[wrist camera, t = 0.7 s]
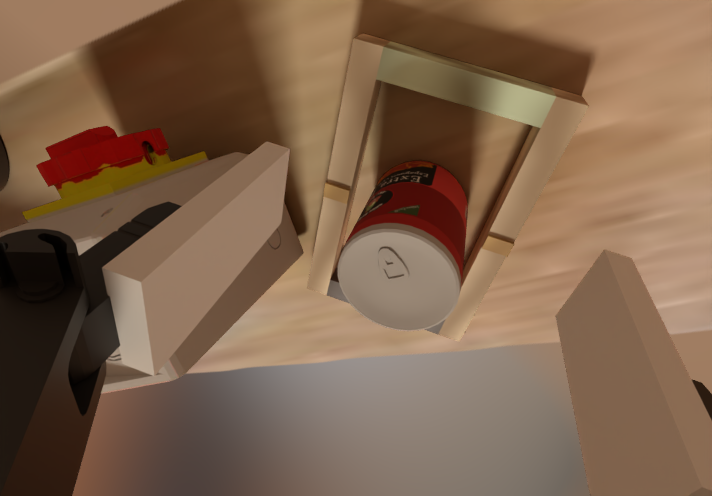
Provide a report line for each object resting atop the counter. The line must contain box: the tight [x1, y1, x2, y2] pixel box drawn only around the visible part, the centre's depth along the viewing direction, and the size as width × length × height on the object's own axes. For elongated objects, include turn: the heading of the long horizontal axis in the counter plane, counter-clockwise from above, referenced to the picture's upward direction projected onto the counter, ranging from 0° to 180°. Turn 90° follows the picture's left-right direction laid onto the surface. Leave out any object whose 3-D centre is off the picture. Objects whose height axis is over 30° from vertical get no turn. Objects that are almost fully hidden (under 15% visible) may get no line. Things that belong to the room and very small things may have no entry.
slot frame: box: [307, 33, 589, 341], centre depth 33 cm, size 15×22×3 cm
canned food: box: [338, 161, 468, 331], centre depth 29 cm, size 8×8×11 cm
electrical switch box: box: [0, 126, 303, 394], centre depth 31 cm, size 15×15×20 cm
